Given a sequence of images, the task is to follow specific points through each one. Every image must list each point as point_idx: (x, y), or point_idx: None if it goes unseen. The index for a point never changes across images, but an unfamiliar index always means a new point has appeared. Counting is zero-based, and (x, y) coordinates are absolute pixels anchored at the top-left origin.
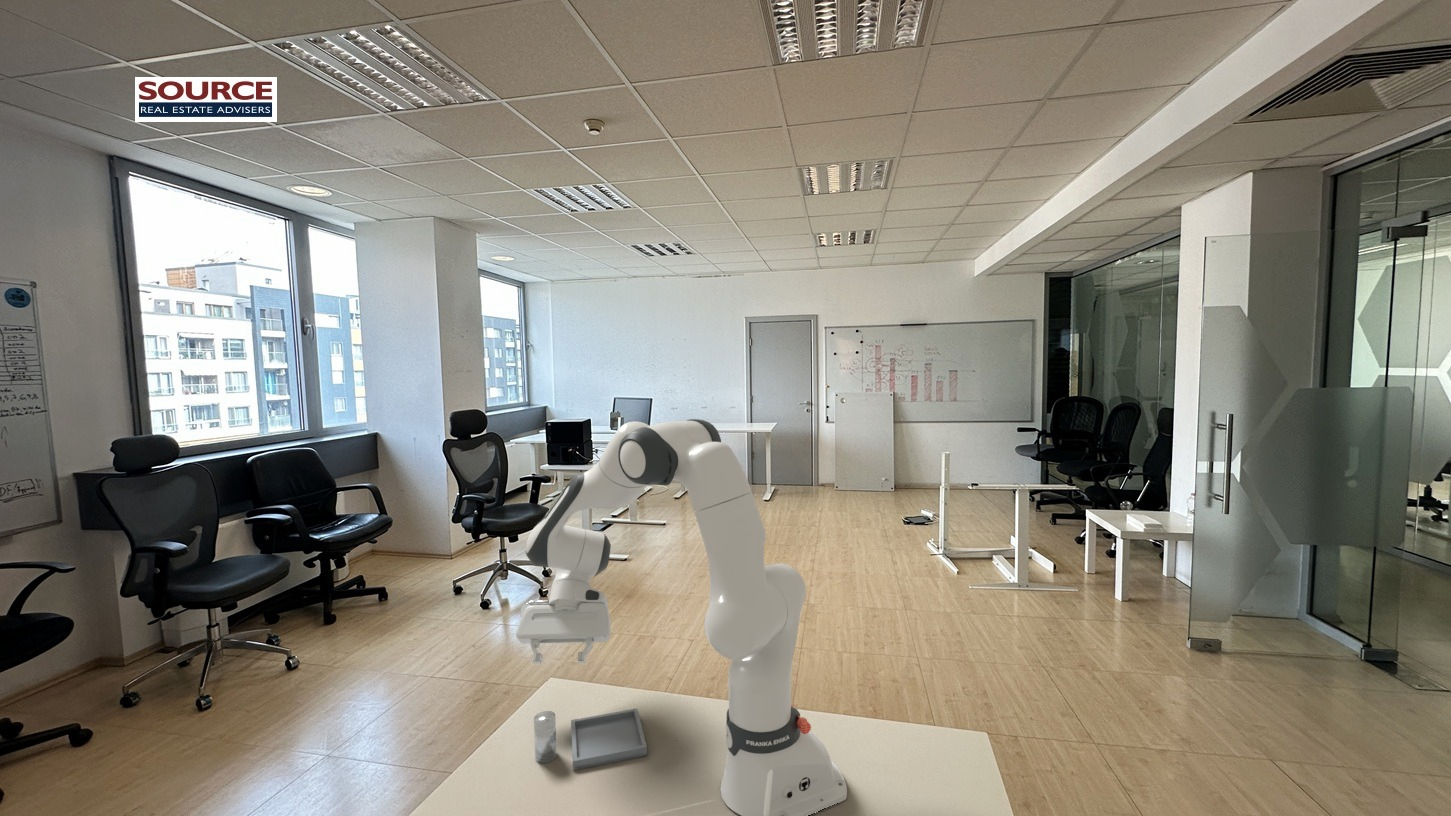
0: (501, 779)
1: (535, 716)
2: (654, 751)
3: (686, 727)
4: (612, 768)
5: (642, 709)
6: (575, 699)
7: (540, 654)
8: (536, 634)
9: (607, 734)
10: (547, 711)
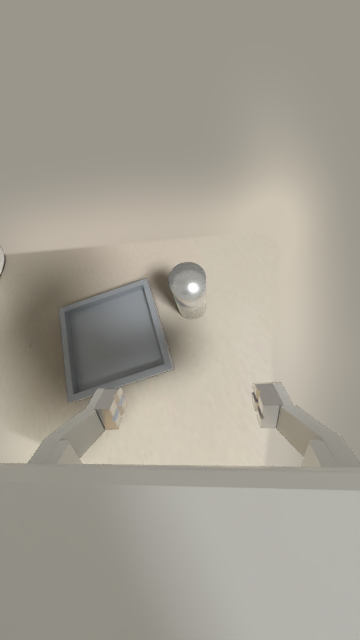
0: (232, 267)
1: (204, 278)
2: (59, 323)
3: (14, 374)
4: None
5: None
6: None
7: (262, 401)
8: (356, 487)
9: (115, 346)
10: (187, 293)
